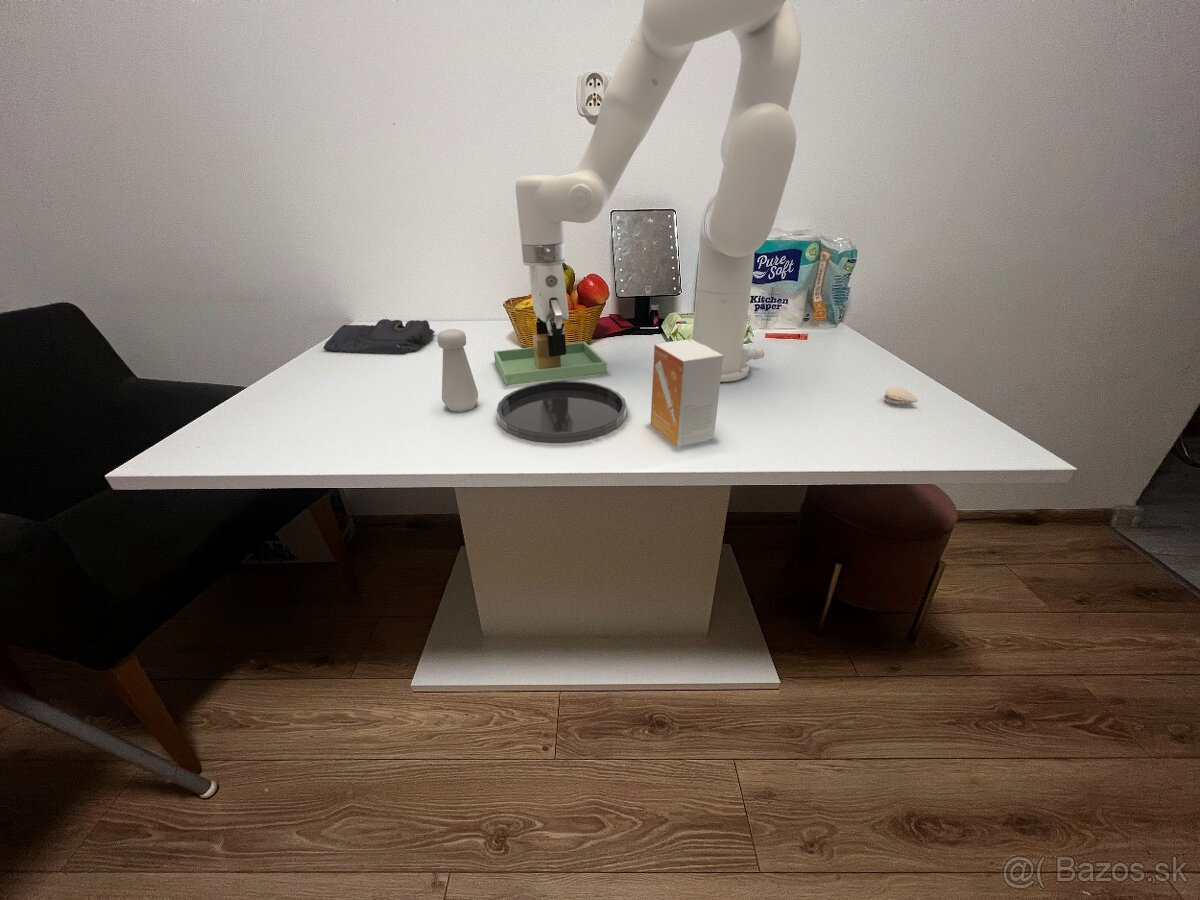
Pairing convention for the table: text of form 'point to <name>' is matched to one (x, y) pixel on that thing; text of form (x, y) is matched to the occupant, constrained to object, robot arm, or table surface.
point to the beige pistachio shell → (899, 396)
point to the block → (544, 353)
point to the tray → (574, 363)
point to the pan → (561, 411)
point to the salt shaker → (456, 372)
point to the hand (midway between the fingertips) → (551, 348)
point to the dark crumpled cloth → (381, 337)
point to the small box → (685, 391)
